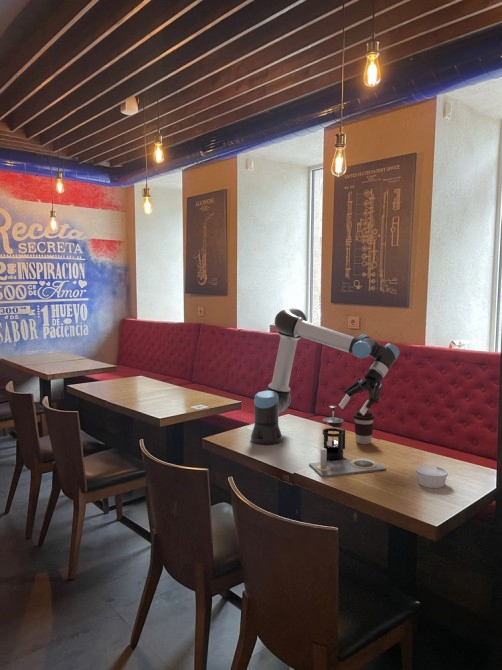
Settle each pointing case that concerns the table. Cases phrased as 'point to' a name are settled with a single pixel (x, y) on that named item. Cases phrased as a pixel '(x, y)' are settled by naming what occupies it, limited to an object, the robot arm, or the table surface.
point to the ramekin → (431, 476)
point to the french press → (334, 446)
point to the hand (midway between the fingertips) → (350, 410)
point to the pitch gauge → (344, 466)
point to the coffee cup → (364, 427)
